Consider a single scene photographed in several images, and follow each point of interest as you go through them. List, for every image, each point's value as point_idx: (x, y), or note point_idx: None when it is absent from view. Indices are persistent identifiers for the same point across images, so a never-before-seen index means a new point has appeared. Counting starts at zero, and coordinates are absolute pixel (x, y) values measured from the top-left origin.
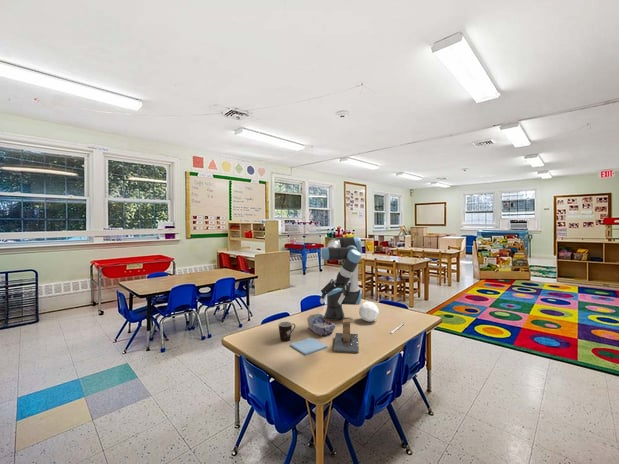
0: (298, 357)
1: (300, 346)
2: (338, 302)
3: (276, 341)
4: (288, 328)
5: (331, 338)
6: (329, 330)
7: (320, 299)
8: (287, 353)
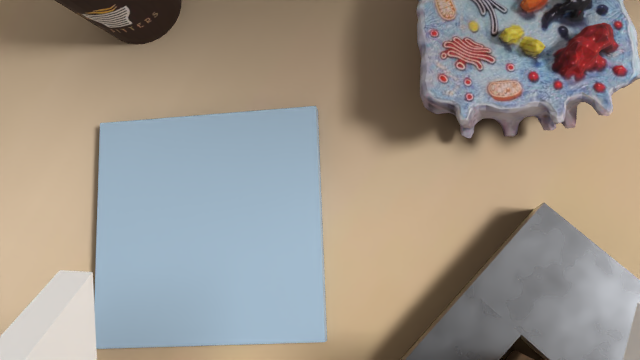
0: None
1: (137, 211)
2: (631, 342)
3: None
4: (80, 4)
5: (484, 202)
6: (523, 117)
7: (37, 295)
8: (16, 234)
